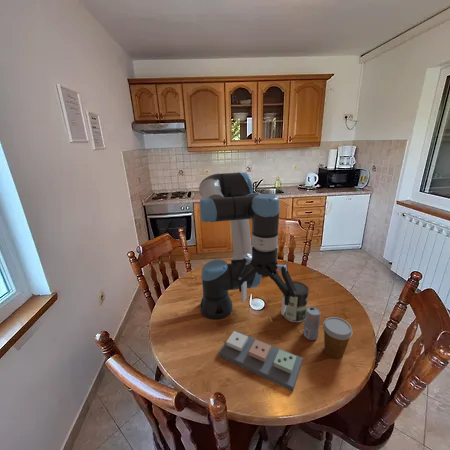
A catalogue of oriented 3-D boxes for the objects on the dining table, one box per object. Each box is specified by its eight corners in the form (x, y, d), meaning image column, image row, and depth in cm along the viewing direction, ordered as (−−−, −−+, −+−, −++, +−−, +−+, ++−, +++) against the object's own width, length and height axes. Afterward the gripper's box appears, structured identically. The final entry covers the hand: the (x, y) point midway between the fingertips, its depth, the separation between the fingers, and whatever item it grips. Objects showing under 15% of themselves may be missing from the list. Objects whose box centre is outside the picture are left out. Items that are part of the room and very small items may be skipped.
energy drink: (314, 330, 97) (317, 305, 94) (320, 340, 92) (323, 314, 88) (301, 330, 97) (304, 306, 93) (306, 340, 92) (309, 315, 88)
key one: (226, 348, 88) (226, 341, 87) (234, 337, 93) (234, 330, 92) (241, 355, 85) (241, 347, 84) (248, 343, 90) (248, 336, 89)
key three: (273, 369, 79) (273, 361, 78) (278, 356, 84) (279, 348, 83) (291, 377, 76) (291, 369, 75) (296, 363, 81) (296, 355, 80)
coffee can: (304, 308, 110) (307, 281, 106) (307, 324, 101) (310, 295, 96) (282, 305, 112) (283, 280, 108) (282, 321, 103) (284, 293, 98)
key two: (248, 358, 84) (248, 351, 83) (255, 346, 89) (255, 339, 87) (264, 365, 81) (265, 358, 80) (270, 353, 86) (271, 345, 85)
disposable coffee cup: (324, 337, 94) (328, 312, 90) (351, 349, 88) (356, 323, 84) (316, 353, 87) (319, 327, 83) (344, 367, 81) (349, 340, 77)
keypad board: (219, 356, 87) (218, 352, 86) (234, 334, 97) (234, 330, 96) (292, 391, 74) (293, 387, 73) (302, 362, 84) (302, 357, 83)
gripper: (222, 244, 74) (224, 301, 81) (305, 260, 62) (299, 325, 69) (233, 236, 80) (234, 289, 87) (310, 249, 68) (304, 310, 75)
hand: (263, 305), depth 78 cm, fingers open, 13 cm apart
